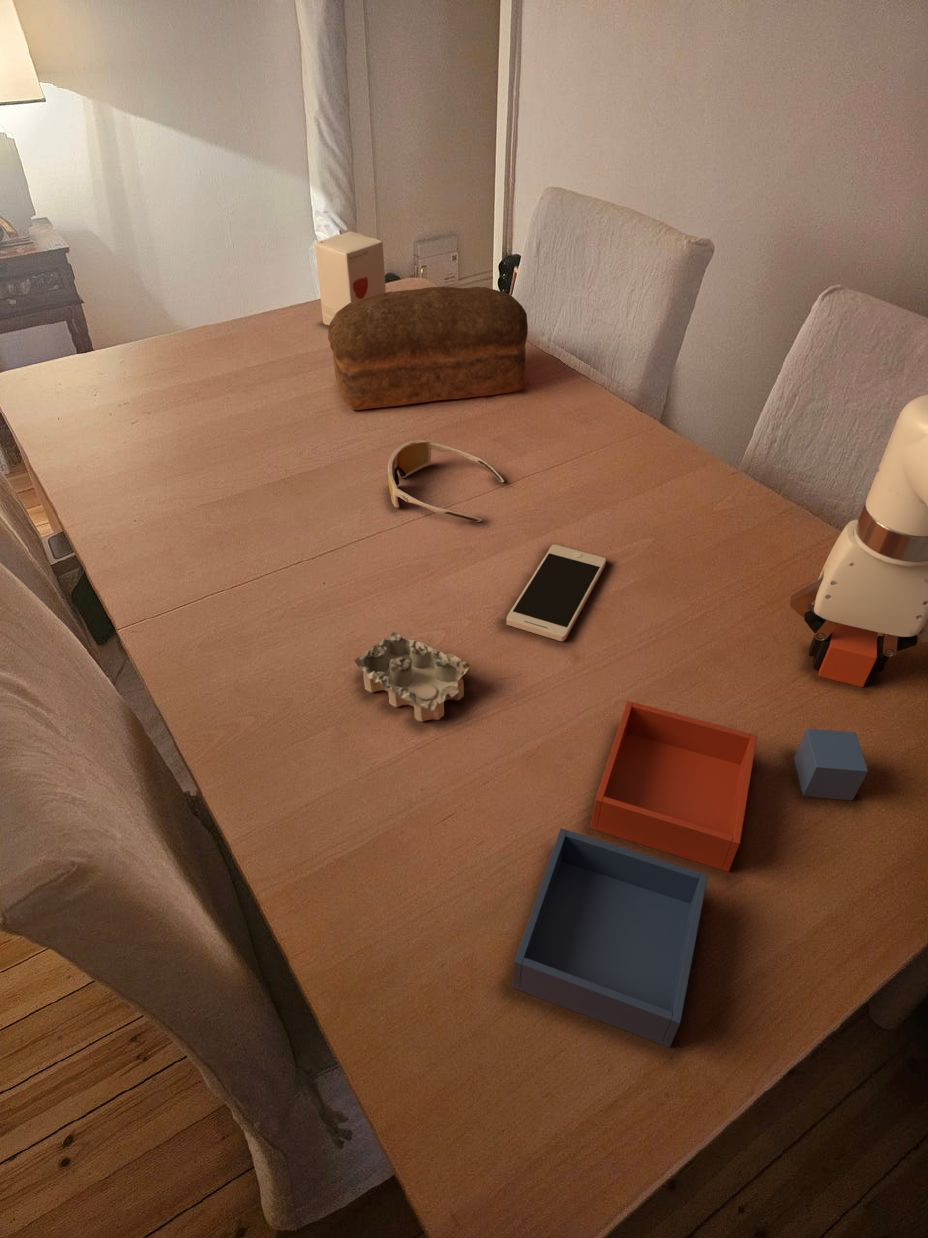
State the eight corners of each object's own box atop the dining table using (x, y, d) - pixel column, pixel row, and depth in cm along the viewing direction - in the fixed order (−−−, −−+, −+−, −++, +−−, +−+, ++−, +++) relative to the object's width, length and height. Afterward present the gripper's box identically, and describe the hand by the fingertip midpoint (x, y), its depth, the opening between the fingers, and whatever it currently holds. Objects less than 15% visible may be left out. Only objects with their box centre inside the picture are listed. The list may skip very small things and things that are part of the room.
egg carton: (474, 691, 86) (474, 664, 83) (426, 734, 82) (425, 706, 79) (401, 645, 91) (398, 618, 89) (352, 683, 87) (348, 656, 84)
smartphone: (606, 563, 102) (607, 557, 101) (563, 642, 91) (564, 636, 91) (552, 548, 104) (552, 542, 103) (504, 624, 94) (504, 618, 93)
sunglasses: (409, 455, 120) (412, 426, 117) (506, 486, 118) (512, 457, 115) (369, 508, 111) (371, 478, 107) (474, 543, 108) (479, 513, 105)
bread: (331, 375, 140) (319, 281, 129) (511, 356, 145) (514, 263, 134) (340, 416, 130) (328, 317, 119) (534, 394, 134) (539, 297, 124)
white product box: (353, 337, 151) (345, 253, 141) (322, 324, 156) (312, 241, 146) (389, 322, 156) (384, 240, 146) (358, 310, 161) (350, 229, 150)
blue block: (841, 762, 79) (856, 732, 76) (852, 801, 76) (868, 771, 73) (793, 758, 79) (806, 728, 76) (802, 796, 76) (816, 767, 73)
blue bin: (697, 903, 68) (708, 874, 65) (669, 1048, 60) (680, 1023, 57) (556, 856, 72) (560, 827, 69) (512, 988, 63) (514, 961, 60)
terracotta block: (864, 659, 89) (878, 629, 86) (863, 687, 86) (877, 657, 83) (820, 648, 90) (832, 618, 87) (818, 676, 87) (830, 646, 84)
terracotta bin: (746, 765, 79) (757, 735, 76) (728, 872, 70) (740, 843, 67) (621, 730, 82) (627, 700, 79) (590, 828, 74) (595, 799, 71)
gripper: (999, 525, 76) (926, 663, 88) (809, 489, 81) (764, 625, 93) (1007, 573, 71) (928, 712, 83) (803, 532, 76) (756, 670, 88)
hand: (842, 665), depth 88 cm, fingers closed on terracotta block, 4 cm apart
